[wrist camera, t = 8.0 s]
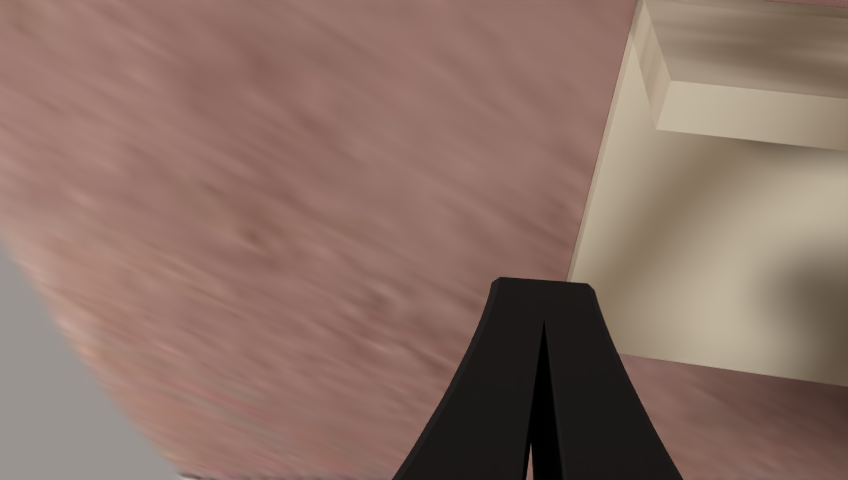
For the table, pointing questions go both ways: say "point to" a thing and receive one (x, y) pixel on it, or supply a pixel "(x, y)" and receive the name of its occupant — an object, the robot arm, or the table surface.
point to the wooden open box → (726, 190)
